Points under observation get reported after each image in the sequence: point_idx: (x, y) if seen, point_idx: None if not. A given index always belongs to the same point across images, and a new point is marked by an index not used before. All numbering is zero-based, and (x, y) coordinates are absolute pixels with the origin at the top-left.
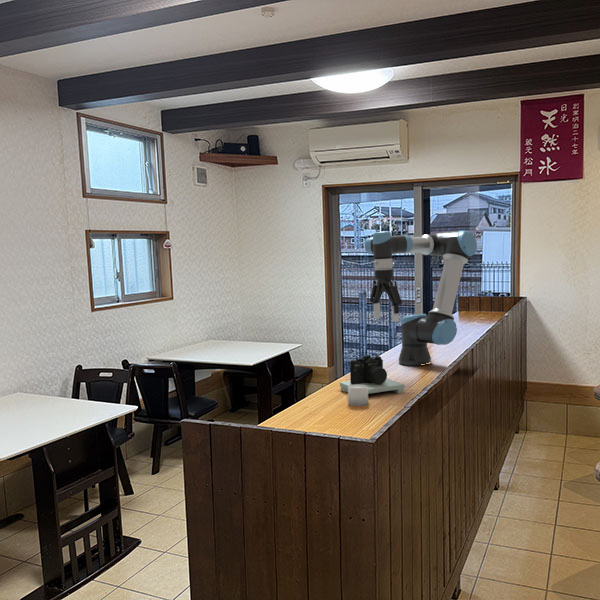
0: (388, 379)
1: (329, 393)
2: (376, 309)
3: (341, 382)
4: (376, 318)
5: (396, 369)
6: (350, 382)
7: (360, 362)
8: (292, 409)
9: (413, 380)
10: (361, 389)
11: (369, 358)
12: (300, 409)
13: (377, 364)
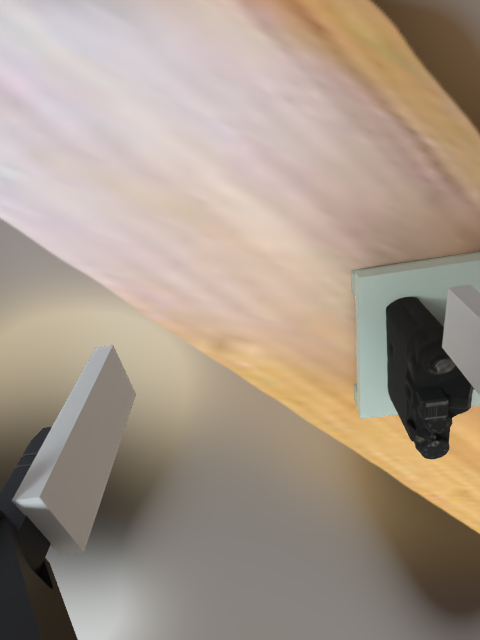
0: (418, 274)
1: (374, 431)
2: (100, 459)
3: (364, 415)
4: (130, 386)
5: (82, 77)
6: (380, 395)
7: (449, 428)
8: (460, 513)
9: (359, 112)
10: None
11: (464, 407)
12: (471, 504)
13: None
